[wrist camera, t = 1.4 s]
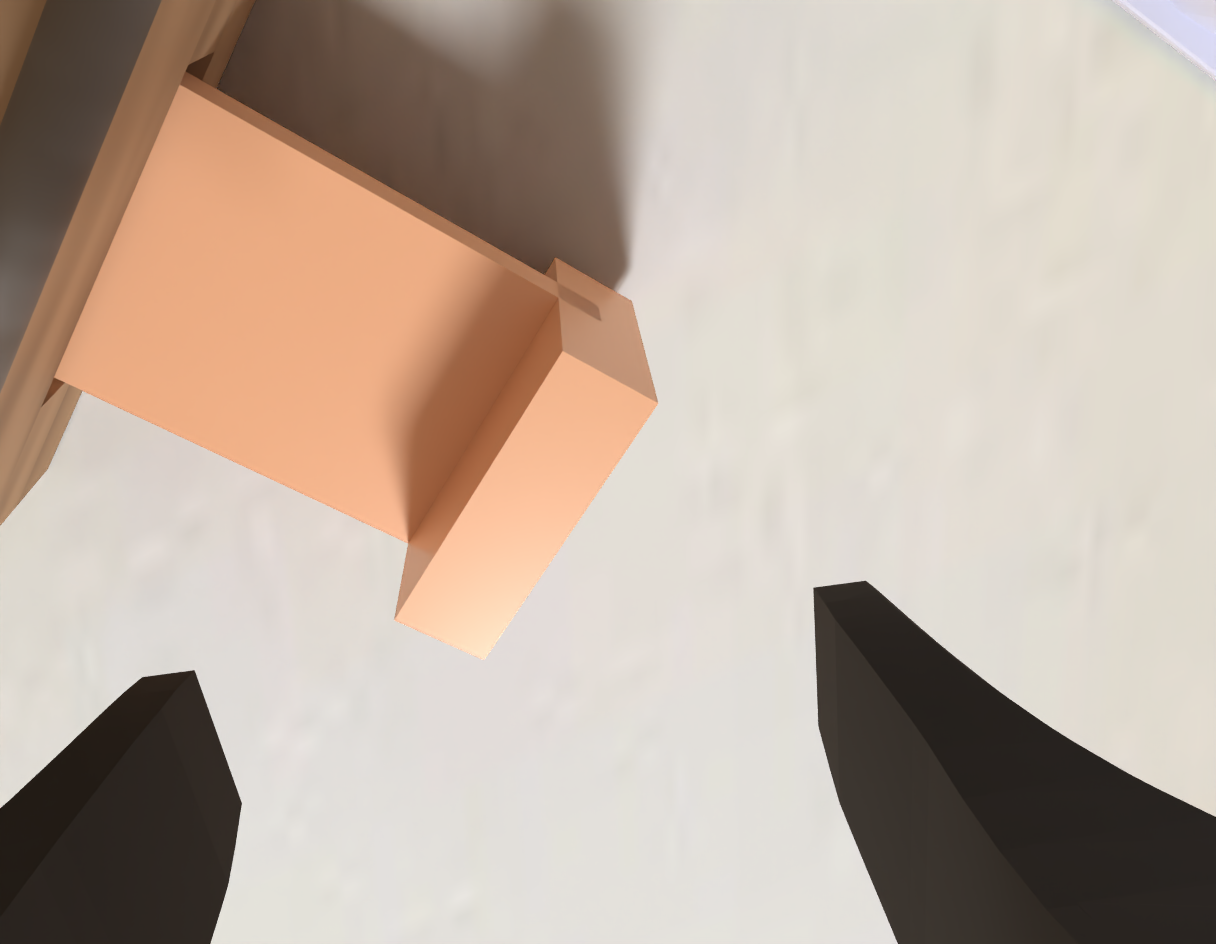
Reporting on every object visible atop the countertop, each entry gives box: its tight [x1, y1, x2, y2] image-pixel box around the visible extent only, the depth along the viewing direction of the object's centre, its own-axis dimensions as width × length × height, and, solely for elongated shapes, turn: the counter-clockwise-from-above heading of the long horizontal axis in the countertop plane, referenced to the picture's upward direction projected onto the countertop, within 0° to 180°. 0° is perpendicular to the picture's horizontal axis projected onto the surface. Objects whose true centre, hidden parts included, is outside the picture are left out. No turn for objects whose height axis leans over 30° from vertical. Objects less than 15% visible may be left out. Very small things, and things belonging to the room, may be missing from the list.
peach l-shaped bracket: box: [54, 71, 658, 660], centre depth 17 cm, size 14×5×5 cm, turn 58°
